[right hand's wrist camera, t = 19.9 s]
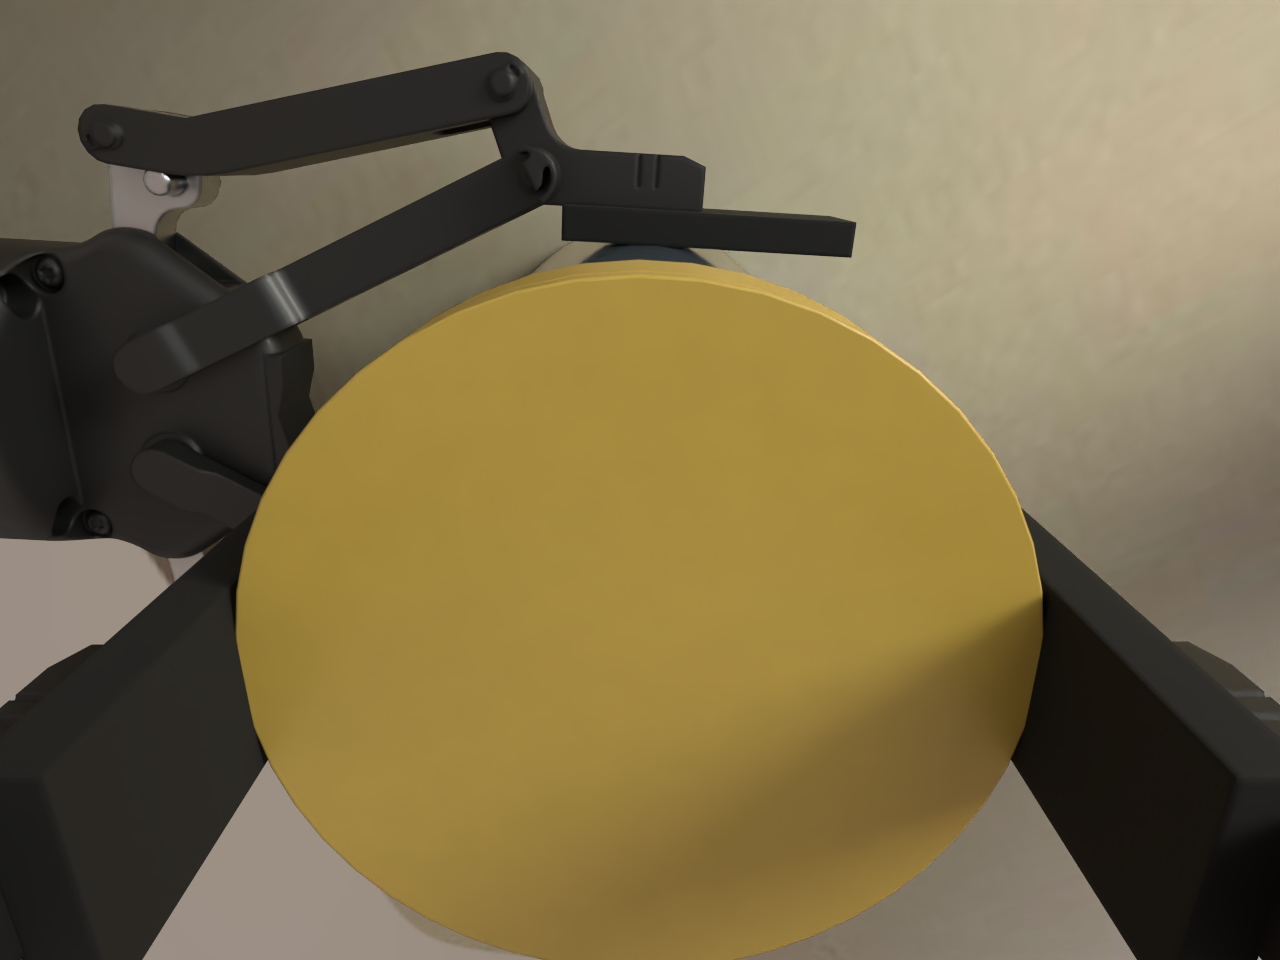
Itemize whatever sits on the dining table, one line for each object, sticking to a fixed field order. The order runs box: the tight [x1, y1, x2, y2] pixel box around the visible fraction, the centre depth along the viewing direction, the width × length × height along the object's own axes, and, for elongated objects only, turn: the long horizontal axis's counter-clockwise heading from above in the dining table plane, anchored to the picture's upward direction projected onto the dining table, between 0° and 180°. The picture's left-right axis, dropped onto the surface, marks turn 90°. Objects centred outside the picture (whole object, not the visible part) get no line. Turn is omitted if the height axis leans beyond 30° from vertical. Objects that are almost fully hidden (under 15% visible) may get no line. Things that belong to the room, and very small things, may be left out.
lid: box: [235, 260, 1043, 960], centre depth 11 cm, size 10×10×2 cm
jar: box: [532, 241, 749, 275], centre depth 19 cm, size 9×9×17 cm
